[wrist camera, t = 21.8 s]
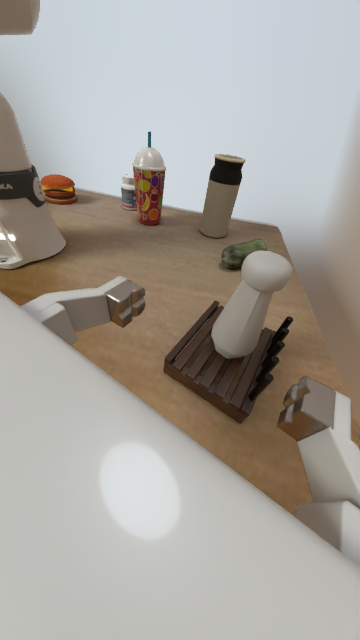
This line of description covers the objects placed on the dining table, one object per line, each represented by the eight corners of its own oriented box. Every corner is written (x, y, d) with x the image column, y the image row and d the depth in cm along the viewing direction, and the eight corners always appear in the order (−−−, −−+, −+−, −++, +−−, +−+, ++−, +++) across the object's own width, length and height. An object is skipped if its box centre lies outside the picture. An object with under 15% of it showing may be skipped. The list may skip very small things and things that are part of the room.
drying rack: (163, 371, 26) (167, 335, 21) (210, 314, 35) (222, 278, 30) (240, 423, 23) (268, 396, 17) (271, 345, 31) (296, 311, 26)
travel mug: (226, 240, 57) (248, 162, 45) (199, 235, 57) (213, 156, 45) (225, 229, 63) (244, 157, 50) (200, 225, 63) (213, 152, 50)
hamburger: (44, 204, 60) (35, 178, 56) (48, 195, 67) (40, 170, 62) (77, 205, 63) (72, 180, 58) (78, 196, 69) (73, 172, 64)
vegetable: (250, 252, 54) (257, 234, 50) (265, 262, 51) (274, 243, 47) (212, 263, 47) (217, 243, 44) (227, 274, 45) (234, 254, 41)
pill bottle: (135, 211, 65) (134, 179, 59) (120, 208, 65) (117, 176, 59) (140, 206, 69) (139, 175, 62) (126, 204, 69) (123, 173, 63)
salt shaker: (257, 362, 25) (321, 276, 16) (215, 368, 24) (258, 277, 15) (239, 328, 29) (282, 243, 20) (202, 331, 28) (229, 241, 19)
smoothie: (141, 214, 64) (139, 128, 49) (166, 219, 63) (171, 134, 49) (130, 223, 58) (125, 129, 44) (158, 229, 57) (161, 135, 43)
